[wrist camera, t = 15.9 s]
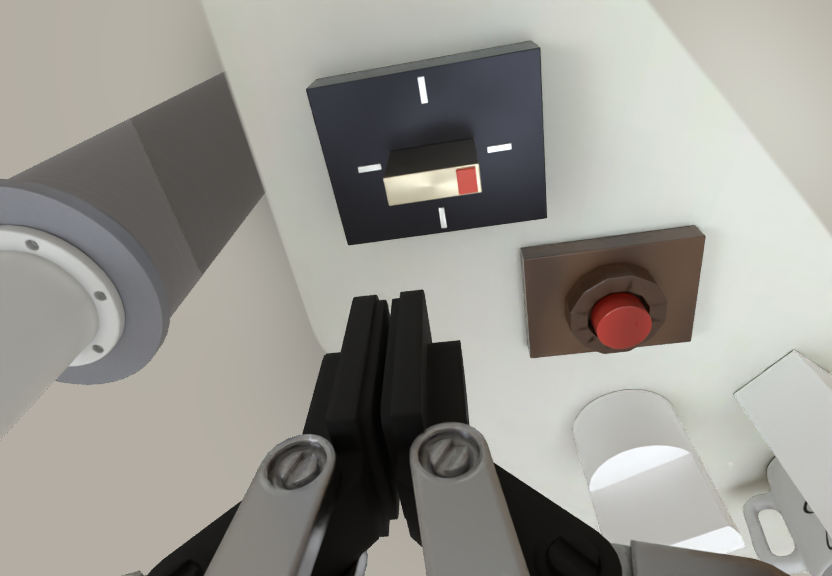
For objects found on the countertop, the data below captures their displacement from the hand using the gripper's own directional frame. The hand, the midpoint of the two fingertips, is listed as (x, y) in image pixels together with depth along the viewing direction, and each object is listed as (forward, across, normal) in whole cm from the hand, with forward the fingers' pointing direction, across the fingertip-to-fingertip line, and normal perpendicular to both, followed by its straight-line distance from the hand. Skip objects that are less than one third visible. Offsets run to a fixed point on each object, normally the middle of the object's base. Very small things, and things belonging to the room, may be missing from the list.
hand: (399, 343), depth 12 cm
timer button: (+20, -12, +15) cm, 28 cm away
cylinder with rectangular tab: (+23, -15, +30) cm, 40 cm away
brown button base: (+23, -12, +15) cm, 30 cm away
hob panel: (+23, -1, +2) cm, 23 cm away
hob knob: (+20, -1, +2) cm, 20 cm away
